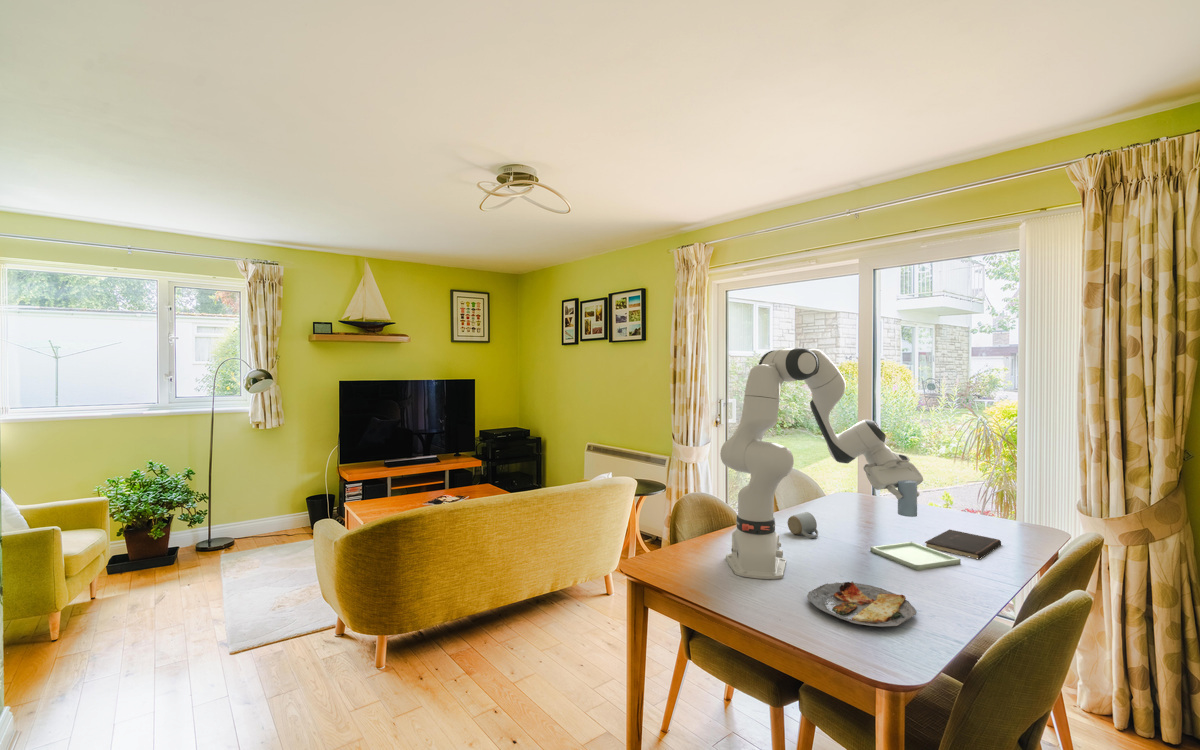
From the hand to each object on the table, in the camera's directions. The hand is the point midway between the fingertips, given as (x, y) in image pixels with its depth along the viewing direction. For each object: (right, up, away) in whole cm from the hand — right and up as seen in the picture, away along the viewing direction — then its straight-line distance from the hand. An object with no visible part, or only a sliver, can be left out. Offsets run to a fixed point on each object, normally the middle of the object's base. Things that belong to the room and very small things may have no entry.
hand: (909, 497), depth 175 cm
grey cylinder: (0, -6, +1) cm, 6 cm away
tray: (+1, -19, -2) cm, 20 cm away
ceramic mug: (-26, -20, +23) cm, 40 cm away
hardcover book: (+25, -20, +10) cm, 33 cm away
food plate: (-35, -20, -39) cm, 56 cm away
